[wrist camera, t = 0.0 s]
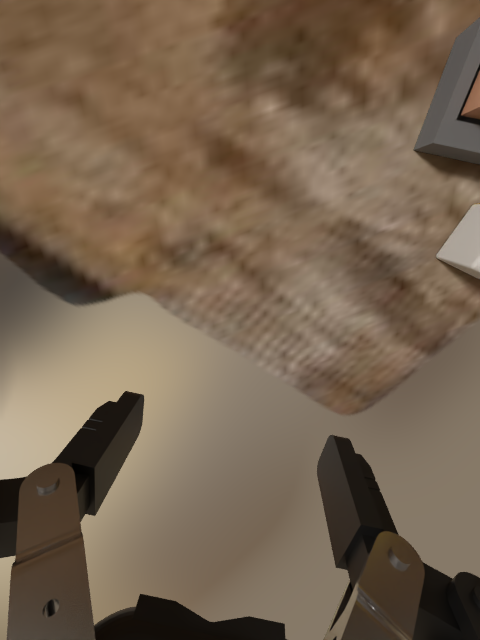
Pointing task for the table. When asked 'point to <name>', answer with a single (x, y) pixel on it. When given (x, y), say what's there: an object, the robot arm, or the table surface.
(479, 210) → the medicine bottle
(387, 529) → the robot arm
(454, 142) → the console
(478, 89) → the terracotta key
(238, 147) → the table surface
